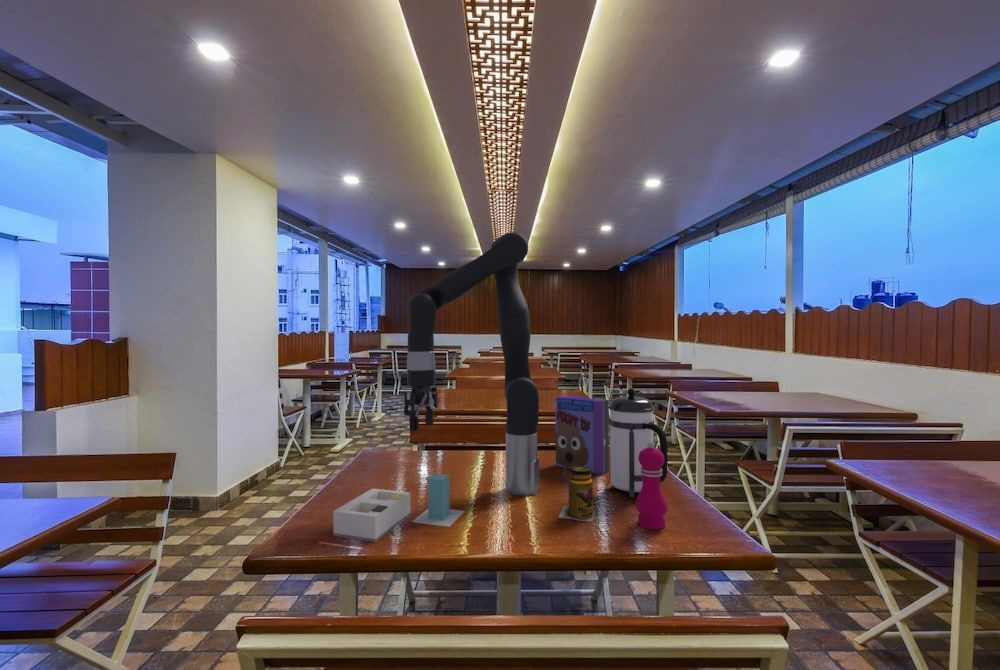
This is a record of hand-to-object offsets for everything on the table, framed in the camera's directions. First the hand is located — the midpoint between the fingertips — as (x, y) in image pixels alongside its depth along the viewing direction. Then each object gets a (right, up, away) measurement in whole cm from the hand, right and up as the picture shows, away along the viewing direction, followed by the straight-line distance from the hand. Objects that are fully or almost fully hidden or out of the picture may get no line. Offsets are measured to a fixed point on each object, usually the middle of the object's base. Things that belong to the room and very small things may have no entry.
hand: (422, 427), depth 126 cm
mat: (+6, -21, -9) cm, 23 cm away
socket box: (-9, -21, -14) cm, 27 cm away
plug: (+6, -21, -9) cm, 23 cm away
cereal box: (+49, -21, +32) cm, 62 cm away
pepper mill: (+58, -21, -14) cm, 63 cm away
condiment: (+41, -21, -7) cm, 47 cm away
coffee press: (+61, -21, +8) cm, 64 cm away
